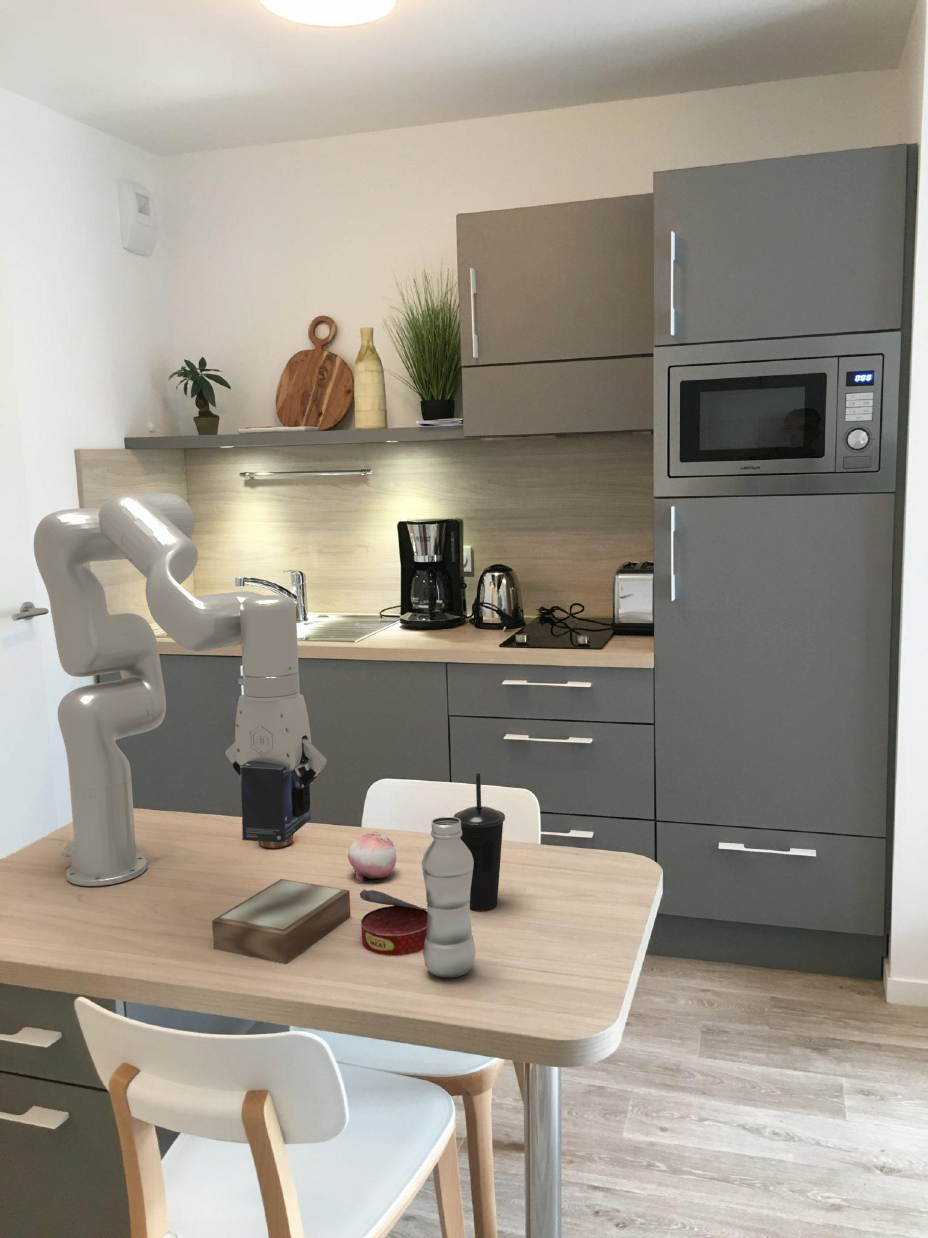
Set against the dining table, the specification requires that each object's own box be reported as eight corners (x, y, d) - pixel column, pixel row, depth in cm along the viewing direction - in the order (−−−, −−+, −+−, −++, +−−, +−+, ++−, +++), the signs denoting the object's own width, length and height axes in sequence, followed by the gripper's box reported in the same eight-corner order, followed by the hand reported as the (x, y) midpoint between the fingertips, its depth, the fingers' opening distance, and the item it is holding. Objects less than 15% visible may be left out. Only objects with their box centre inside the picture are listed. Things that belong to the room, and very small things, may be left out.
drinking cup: (514, 899, 151) (512, 769, 149) (494, 918, 144) (491, 783, 142) (468, 891, 155) (465, 765, 152) (447, 910, 148) (443, 778, 145)
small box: (286, 844, 134) (282, 768, 133) (240, 842, 136) (236, 766, 134) (313, 819, 145) (310, 748, 143) (271, 817, 146) (267, 747, 145)
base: (213, 948, 137) (212, 918, 137) (282, 904, 151) (281, 877, 151) (286, 963, 132) (285, 932, 132) (350, 916, 146) (349, 888, 146)
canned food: (362, 970, 140) (343, 899, 143) (428, 948, 144) (408, 879, 147) (380, 965, 130) (359, 889, 133) (451, 941, 134) (429, 868, 137)
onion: (403, 877, 163) (409, 841, 161) (369, 897, 158) (375, 860, 155) (368, 853, 168) (374, 817, 165) (334, 871, 162) (339, 835, 159)
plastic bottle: (422, 962, 131) (418, 814, 129) (474, 959, 132) (470, 812, 130) (424, 986, 125) (420, 831, 123) (478, 982, 126) (475, 828, 123)
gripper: (203, 687, 138) (210, 812, 140) (309, 694, 131) (315, 826, 133) (237, 677, 145) (243, 797, 147) (340, 684, 137) (345, 810, 139)
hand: (277, 810), depth 140 cm, fingers closed on small box, 7 cm apart
